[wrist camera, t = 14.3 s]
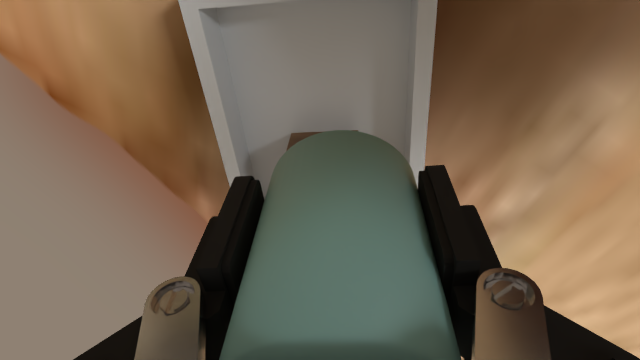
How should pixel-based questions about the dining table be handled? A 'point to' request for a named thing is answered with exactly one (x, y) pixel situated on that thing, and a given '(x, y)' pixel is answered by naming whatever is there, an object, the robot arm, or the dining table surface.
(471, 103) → the dining table surface
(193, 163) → the dining table surface
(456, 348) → the teal rounded capsule
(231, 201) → the robot arm
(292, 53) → the grey tote
